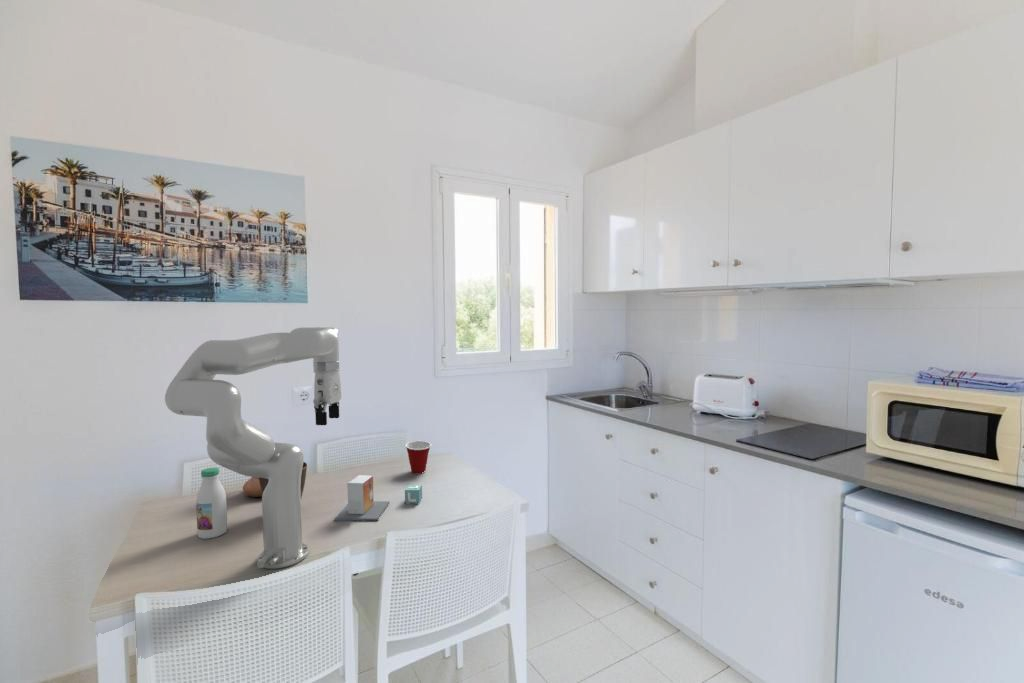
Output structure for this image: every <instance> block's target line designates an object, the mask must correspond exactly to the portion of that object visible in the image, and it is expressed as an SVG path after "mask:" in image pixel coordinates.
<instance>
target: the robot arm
mask: <svg viewBox="0 0 1024 683" xmlns="http://www.w3.org/2000/svg"><path fill="white" fill-rule="evenodd" d="M339 338H340V337H339V330H338V329H337V328H336V327H297V328H294V329H293V330H291V331H290V332H269V333H265V334H259V335H254V336H250V337H243V338H239V339H230V340H229V339H227V340H226V339H224V340H223V339H211V340H207V341H205V342H203V343H201V344H200V345H199V346H198V347H197V348H196V349H195V350H194V351H193V352H192V353H191V355H190V356H189V357H188V358H187V360H186V361H185V363H184V364H183V365H182V367H181V368H180V369H179V370H178V372H177V373H176V375H175V376H174V377H173V379H172V380H171V382H169V385H168V386H167V389H166V391H165V394H164V403H165V405H166V407H167V409H168V410H169V411H171V412H172V413H174V414H176V415H180V416H187V417H188V416H191V417H204V418H205V417H206V433H205V440H206V442H207V444H206V451H207V455H208V457H209V459H210V460H211V461H212V462H213V463H215V464H216V465H219V466H221V467H222V468H224V469H228V470H229V471H232V472H233V473H234V472H235V473H237V474H240V475H242V476H246V477H250V478H251V477H259V478H266V479H269V482H268V484H267V486H266V488H265V490H264V492H263V495H262V497H261V507H262V509H261V510H262V512H261V513H262V535H263V536H262V537H263V551H262V552H261V553H260V554H259V555H258V556H257V561H256V562H257V563H256V567H257V568H258V569H264V568H265V569H272V570H274V569H275V570H276V569H282V568H287V567H290V566H293V565H295V564H297V563H300V562H301V561H303V560H304V559H306V557H307V556H308V555H309V547H308V545H307V544H305V543H303V528H302V526H303V525H302V524H303V523H302V498H301V491H300V486H301V474H302V468H303V462H305V461H304V458H305V457H304V453H303V451H302V449H300V447H298V446H296V445H294V444H291V443H287V442H286V443H285V442H275V441H274V439H273V438H272V436H270V435H269V434H268V433H267V432H265V431H264V430H262V429H259V428H258V427H256V426H254V425H252V424H250V423H249V422H247V420H246V421H245V420H244V419H243V418H242V396H241V393H240V391H239V389H238V388H237V387H236V386H235V385H234V384H233V383H232V382H229V381H225V380H221V379H214V378H215V376H216V375H227V376H229V375H230V376H237V375H244V374H248V373H253V372H256V371H259V370H263V369H266V368H269V367H272V366H276V365H281V364H287V363H289V364H290V363H293V362H299V361H303V360H305V361H306V360H309V359H310V360H311V359H313V360H312V361H313V362H312V363H313V364H312V365H313V366H312V367H313V370H312V371H313V373H314V383H313V384H314V385H313V386H314V388H313V395H314V398H313V399H312V400H313V405H314V406H313V407H314V413H315V414H314V415H315V425H316V426H327V424H328V419H327V418H329V419H339V418H340V401H341V399H342V387H341V384H342V383H341V376H340V373H339V372H340V343H339V340H340V339H339ZM327 405H328V412H327V411H326V410H327ZM327 413H328V414H327ZM327 415H328V416H327Z"/></svg>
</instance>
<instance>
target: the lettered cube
mask: <svg viewBox="0 0 1024 683" xmlns="http://www.w3.org/2000/svg"><path fill="white" fill-rule="evenodd" d="M421 499H423V485H422V484H407V486H406V488H405V489H404V504H405V503H419V504H420V503H421V501H422V500H421Z"/></svg>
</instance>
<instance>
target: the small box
mask: <svg viewBox="0 0 1024 683" xmlns="http://www.w3.org/2000/svg"><path fill="white" fill-rule="evenodd" d="M347 504H348V513H349V514H364V513H365V512H366V511H368V510H369V509H370V508H371V507H372V506H373V505H374V476H373V475H365V474H364V475H363V474H361V475H360V474H359V475H356V477H354V478H353V479H352V480H350V481H348V482H347Z"/></svg>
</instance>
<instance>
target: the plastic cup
mask: <svg viewBox="0 0 1024 683" xmlns="http://www.w3.org/2000/svg"><path fill="white" fill-rule="evenodd" d="M431 447H432V444H431V442H429V441H425V440H424V441H423V440H415V441H414V440H412V441H409V442H407V443H406V444H405V448H406V450H407V451H406V452H407V456H408V457H407V458H408V460H409V465H410V466H409V467H410V471H411V473H412V472H413V473H412V474H414V473H420V474H423V473H422V472H424V471H425V472H426V470H427V464H428V457H429V451H430V448H431ZM425 472H424V473H425Z"/></svg>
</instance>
